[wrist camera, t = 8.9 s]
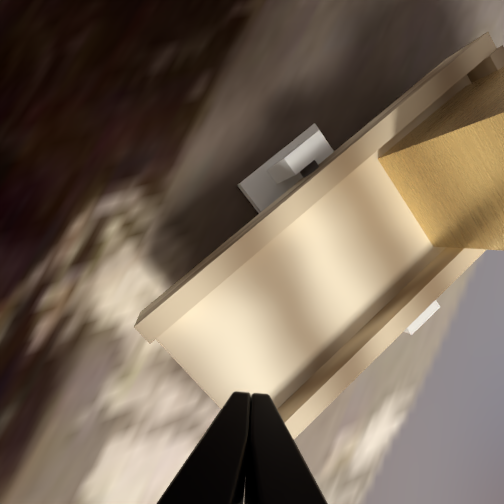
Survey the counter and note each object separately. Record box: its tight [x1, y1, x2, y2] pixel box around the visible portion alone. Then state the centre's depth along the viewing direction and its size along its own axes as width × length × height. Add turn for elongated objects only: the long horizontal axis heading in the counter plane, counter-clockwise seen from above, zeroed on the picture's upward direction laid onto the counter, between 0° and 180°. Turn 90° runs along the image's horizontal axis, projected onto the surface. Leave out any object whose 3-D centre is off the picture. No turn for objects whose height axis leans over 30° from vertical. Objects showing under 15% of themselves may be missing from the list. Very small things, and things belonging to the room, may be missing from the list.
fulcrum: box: [237, 123, 440, 335], centre depth 19 cm, size 6×13×4 cm, turn 39°
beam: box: [134, 32, 504, 440], centre depth 17 cm, size 23×10×3 cm, turn 129°
